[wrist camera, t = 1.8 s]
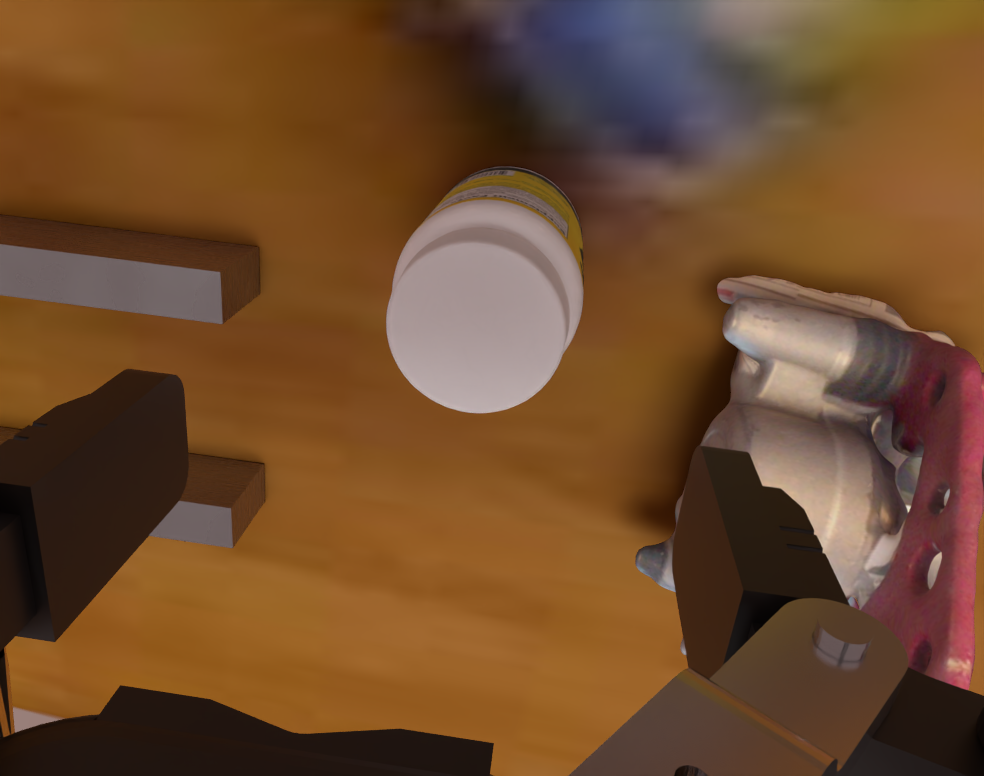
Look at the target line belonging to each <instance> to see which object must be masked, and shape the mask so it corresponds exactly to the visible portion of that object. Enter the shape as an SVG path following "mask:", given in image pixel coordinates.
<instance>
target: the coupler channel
mask: <svg viewBox="0 0 984 776" xmlns="http://www.w3.org/2000/svg"><path fill="white" fill-rule="evenodd" d="M259 294H260V276H259V247H256V246H248V245H240V244H232V243H223V242H215V241H207V240H199V239H191V238H183V237H175V236H167V235H159V234H151V233H143V232H135V231H127V230H119V229H111V228H103V227H95V226H87V225H79V224H71V223H63V222H55V221H47V220H39V219H31V218H23V217H15V216H7V215H0V295H4V296H12V297H20V298H27V299H35V300H43V301H50V302H58V303H65V304H73V305H81V306H88V307H96V308H104V309H111V310H119V311H127V312H134V313H142V314H150V315H157V316H165V317H172V318H180V319H188V320H195V321H203V322H211V323H218V324H223V323H225V322H226V321H227V320H228V319H230V318H231V317H232V316H233V315H235V314H236V313H237V312H238V311H240V310H241V309H242V308H243V307H245V306H246V305H247V304H248V303H249V302H251V301H252V300H253V299H254V298H256V297H257V296H258V295H259ZM20 431H21V430H19V429H12V428H5V427H0V445H1V444H2V443H4V442H5V441H7V440H8V439H13V438H14V435H15V434H17V433H18V432H20ZM188 458H189V471H188V478H187V483H186V486H185V489H184V492H183V494H182V496H181V498H180V500H179V501H178V503H177V504H176V505H175V506H174V508H173V509H172V510H171V511H170V512H169V513H168V514H167V515H166V517H165V518H164V519H163V520H162V521H161V522H160V523H159V525H158V526H157V527H156V528H155V529H154V530H153V531H152V533H151V534H150V535H149V536H154V537H161V538H168V539H174V540H181V541H188V542H195V543H202V544H208V545H215V546H222V547H229V548H233V547H234V546H235V544H236V543H237V541H238V540H239V538H240V537H241V535H242V534H243V533H244V531H245V530H246V528H247V527H248V525H249V524H250V522H251V521H252V519H253V518H254V516H255V515H256V514H257V512H258V511H259V509H260V508H261V506H262V505H263V503H264V502H265V479H264V464H261V463H254V462H247V461H239V460H232V459H225V458H218V457H211V456H204V455H197V454H190V453H188Z"/></svg>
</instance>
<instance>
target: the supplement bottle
mask: <svg viewBox="0 0 984 776" xmlns="http://www.w3.org/2000/svg"><path fill="white" fill-rule="evenodd" d="M583 285H584V276H583V238H582V230H581V225H580V221H579V218H578V215H577V213H576V211H575V209H574V207H573V205H572V203H571V202H570V200H569V199H568V198H567V196H566V195H565V194H564V192H563V191H562V190H561V189H560V188H559V187H558V186H556V185H555V184H554V183H553V182H551V181H550V180H549V179H547V178H545V177H544V176H542V175H540V174H538V173H536V172H533V171H530V170H527V169H523V168H518V167H503V166H501V167H493V168H488V169H484V170H481V171H478V172H476V173H474V174H472V175H470V176H468V177H466V178H465V179H463V180H462V181H460V182H459V183H458V184H457V185H455V186H454V187H453V188H452V189H451V190H450V191H449V192H448V193H447V194H446V196H445V197H444V198H443V199H442V200H441V202H440V203H439V204H438V205H437V206H436V207H435V209H434V210H433V211H432V212H431V213H430V214H429V216H428V217H427V218H426V219H425V220H424V221H423V223H422V224H421V225H420V226H419V227H418V228H417V229H416V230H415V231H414V233H413V234H412V235H411V237H410V238H409V240H408V241H407V243H406V245H405V247H404V249H403V251H402V253H401V255H400V257H399V260H398V263H397V266H396V270H395V274H394V279H393V285H392V294H391V297H390V300H389V303H388V308H387V316H386V329H387V337H388V342H389V346H390V349H391V352H392V355H393V357H394V359H395V361H396V363H397V365H398V367H399V369H400V370H401V372H402V373H403V375H404V376H405V377H406V378H407V380H408V381H409V382H410V383H411V384H412V385H413V386H414V387H415V388H416V389H417V390H419V391H420V392H421V393H422V394H424V395H425V396H427V397H428V398H430V399H431V400H433V401H435V402H437V403H439V404H441V405H443V406H445V407H448V408H451V409H455V410H458V411H463V412H469V413H489V412H497V411H502V410H506V409H509V408H511V407H514V406H516V405H518V404H521V403H523V402H525V401H526V400H528V399H529V398H531V397H532V396H533V395H535V394H536V393H537V392H538V391H540V390H541V389H542V388H543V387H544V386H545V384H546V383H547V382H548V381H549V380H550V378H551V377H552V376H553V374H554V372H555V371H556V369H557V367H558V365H559V363H560V360H561V358H562V354H563V353H564V352H565V350H566V349H567V347H568V346H569V344H570V342H571V341H572V339H573V337H574V334H575V332H576V330H577V327H578V324H579V321H580V318H581V313H582V307H583V295H584V294H583Z"/></svg>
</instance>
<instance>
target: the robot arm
mask: <svg viewBox="0 0 984 776" xmlns="http://www.w3.org/2000/svg"><path fill="white" fill-rule="evenodd" d="M188 471H189V458H188V443H187V427H186V412H185V397H184V388H183V384H182V382H181V380H180V378H179V377H178V376H176V375H172V374H164V373H156V372H149V371H141V370H134V369H126V370H124V371H122V372H121V373H120V374H118V375H117V376H115V377H114V378H113V379H111V380H110V381H108V382H107V383H105V384H104V385H103V386H101V387H100V388H98V389H97V390H96V391H94V392H93V393H91V394H88V395H86V396H83V397H80V398H77V399H75V400H72V401H69V402H67V403H64V404H61V405H58V406H56V407H54V408H53V409H52V410H50V411H49V412H47V413H46V414H44V415H43V416H41V417H40V418H39V419H37V420H36V421H34V422H33V425H32V426H29V425H28V426H27V427H25V428H24V429H23V430H21V431H20V432H18V433H17V434H15V435H14V438H13V439H8V440H7V441H5V442H4V443H2V444H1V445H0V776H493V775H491V774H490V768H491V761H492V753H493V745H494V743H488V742H482V741H475V740H469V739H463V738H456V737H450V736H443V735H437V734H430V733H424V732H417V731H411V730H405V729H387V730H369V731H351V732H332V733H314V734H298V733H292V732H289V731H286V730H284V729H281V728H279V727H277V726H274V725H272V724H269V723H267V722H264V721H262V720H259V719H257V718H255V717H252V716H250V715H247V714H245V713H242V712H240V711H237V710H235V709H233V708H230V707H228V706H225V705H223V704H220V703H218V702H216V701H213V700H211V699H205V698H198V697H192V696H186V695H179V694H173V693H166V692H160V691H153V690H147V689H140V688H134V687H128V686H121V685H120V687H119V688H118V689H117V691H116V692H115V694H114V695H113V696H112V698H111V699H110V701H109V702H108V703H107V705H106V706H105V707H104V709H103V710H102V712H101V713H100V714H99V715H88V716H81V717H74V718H67V719H62V720H58V721H54V722H49V723H45V724H41V725H38V726H35V727H32V728H29V729H25V730H22V731H19V732H16V733H15V729H14V719H13V707H12V695H11V684H10V673H9V664H8V659H7V653H6V648H5V646H6V645H7V644H8V643H9V642H10V641H11V640H12V639H13V638H14V637H15V636H19V637H26V638H32V639H39V640H45V641H52V642H56V640H57V639H58V638H59V637H60V636H61V635H62V634H63V632H64V631H65V630H66V629H67V628H68V627H69V626H70V624H71V623H72V622H73V621H74V620H75V619H76V618H77V617H78V615H79V614H80V613H81V612H82V611H83V610H84V609H85V607H86V606H87V605H88V604H89V603H90V602H91V601H92V599H93V598H94V597H95V596H96V595H97V594H98V593H99V592H100V590H101V589H102V588H103V587H104V586H105V585H106V584H107V582H108V581H109V580H110V579H111V578H112V577H113V576H114V575H115V573H116V572H117V571H118V570H119V569H120V568H121V567H122V565H123V564H124V563H125V562H126V561H127V560H128V559H129V557H130V556H131V555H132V554H133V553H134V552H135V551H136V550H137V548H138V547H139V546H140V545H141V544H142V543H143V542H144V540H145V539H146V538H147V537H148V536H149V535H150V534H151V533H152V531H153V530H154V529H155V528H156V527H157V526H158V525H159V523H160V522H161V521H162V520H163V519H164V518H165V517H166V515H167V514H168V513H169V512H170V511H171V510H172V509H173V508H174V506H175V505H176V504H177V503H178V501H179V500H180V498H181V496H182V494H183V492H184V489H185V486H186V483H187V478H188ZM672 573H673V579H674V585H675V591H676V597H677V603H678V609H679V615H680V620H681V626H682V632H683V638H684V644H685V650H686V656H687V661H688V667H689V668H688V669H685V670H683V671H682V672H680V673H679V674H678V675H677V676H675V677H674V678H673V679H672V680H671V681H670V682H669V683H668V684H667V685H666V686H665V687H664V688H663V689H661V690H660V691H659V692H658V693H657V694H656V695H655V696H654V697H653V698H652V699H651V700H650V701H649V702H647V703H646V704H645V705H644V706H643V707H642V708H641V709H640V710H639V711H638V712H637V713H636V714H634V715H633V716H632V717H631V718H630V719H629V720H628V721H627V722H626V723H625V724H624V725H623V726H622V727H620V728H619V729H618V730H617V731H616V732H615V733H614V734H613V735H612V736H611V737H610V738H609V739H608V740H606V741H605V742H604V743H603V744H602V745H601V746H600V747H599V748H598V749H597V750H596V751H595V752H594V753H592V754H591V755H590V756H589V757H588V758H587V759H586V760H585V761H584V762H583V763H582V764H581V765H580V766H578V767H577V768H576V769H575V770H574V771H573V772H572V773H571V774H570V775H569V776H984V696H983V695H980V694H977V693H974V692H971V691H968V690H966V689H963V688H960V687H957V686H954V685H951V684H949V683H946V682H943V681H940V680H937V679H934V678H932V677H929V676H927V675H924V674H922V673H920V672H918V671H916V670H913V669H911V668H909V667H908V661H909V660H908V656H907V652H906V650H905V648H904V646H903V644H902V643H901V642H900V640H899V639H898V638H897V637H896V635H895V634H894V633H893V632H892V631H891V630H890V629H888V628H887V627H886V626H885V625H884V624H882V623H881V622H879V621H878V620H877V619H875V618H874V617H872V616H870V615H868V614H866V613H865V612H863V611H861V610H858V609H856V608H854V607H852V606H850V604H849V602H848V600H847V598H846V596H845V594H844V592H843V590H842V588H841V585H840V583H839V581H838V579H837V577H836V575H835V573H834V571H833V569H832V567H831V564H830V562H829V560H828V558H827V556H826V554H825V553H823V548H822V546H821V543H820V541H819V539H818V537H817V535H814V529H813V527H812V525H811V522H810V520H809V518H808V516H807V514H806V512H805V510H804V508H802V507H801V506H800V505H799V504H798V503H797V502H796V501H795V500H793V499H792V498H791V497H790V496H789V495H788V494H787V493H786V492H784V491H783V490H782V489H781V488H775V487H767V486H763V485H762V483H761V481H760V478H759V476H758V473H757V471H756V468H755V466H754V463H753V461H752V459H751V456H750V454H749V453H748V452H746V451H738V450H731V449H723V448H716V447H708V446H701V445H698V446H697V447H696V449H695V450H694V453H693V456H692V460H691V464H690V468H689V473H688V477H687V482H686V486H685V490H684V495H683V499H682V504H681V508H680V513H679V517H678V522H677V526H676V531H675V536H674V542H673V552H672Z"/></svg>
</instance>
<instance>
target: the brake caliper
mask: <svg viewBox="0 0 984 776" xmlns="http://www.w3.org/2000/svg"><path fill="white" fill-rule="evenodd" d="M717 293H718V296H719V299H720V300H721V301H723V302H724V303H728V304H731V306H730V308H729V309H728V311H727V312H726V314H725V316H724V318H723V334H724V337H725V339H726V340H728V341H729V342H730V343H732V344H733V345H734V346H736V347H737V348H738V349H739V350H738V353H737V356H736V360H735V363H734V366H733V371H732V375H731V383H730V386H731V399H730V402H729V403H728V405H727V406H726V407H725V408H724V409H723V410H722V411H721V412H720V413H719V414H718V415H717V416H716V417H715V419H714V420H713V421H712V423H711V424H710V426H709V428H708V429H707V431H706V433H705V435H704V437H703V440H702V442H701V444H700V445H701V446H708V447H716V448H723V449H731V450H738V451H746V452H748V453H749V454H750V456H751V459H752V461H753V463H754V466H755V468H756V471H757V473H758V476H759V478H760V481H761V483H762V485H763V486H767V487H775V488H781V489H782V490H783V491H784V492H786V493H787V494H788V495H789V496H790V497H791V498H792V499H793V500H795V501H796V502H797V503H798V504H799V505H800V506H801V507H802V508H804V510H805V512H806V514H807V516H808V518H809V520H810V522H811V525H812V527H813V529H814V535H817V537H818V539H819V541H820V543H821V546H822V548H823V553H825V554H826V556H827V558H828V560H829V562H830V564H831V567H832V569H833V571H834V573H835V575H836V577H837V579H838V581H839V583H840V585H841V588H842V590H843V592H844V594H845V596H846V598H847V600H848V602H849V604H850V606H852V607H854V608H856V609H858V610H861V611H863V612H865V613H866V614H868V615H870V616H872V617H874V618H875V619H877V620H878V621H879V622H881V623H882V624H884V625H885V626H886V627H887V628H888V629H890V630H891V631H892V632H893V633H894V634H895V635H896V637H897V638H898V639H899V640H900V642H901V643H902V644H903V646H904V648H905V650H906V652H907V656H908V660H909V661H908V667H909V668H911V669H913V670H916V671H918V672H920V673H922V674H924V675H927V676H929V677H932V678H934V679H937V680H940V681H943V682H946V683H949V684H951V685H954V686H957V687H960V688H963V689H966V690H968V688H969V685H970V681H971V676H972V673H973V666H974V660H975V633H974V599H975V591H976V557H977V550H978V528H979V523H980V520H981V517H982V514H983V511H984V373H982V372H981V369H980V365H979V363H978V362H977V360H976V359H975V357H974V356H973V355H972V354H970V353H969V352H968V351H966V350H964V349H962V348H960V347H957V346H955V345H954V343H953V342H952V340H951V339H950V338H949V337H948V336H947V335H946V334H945V333H944V332H942V331H929V332H925V331H919V330H916V329H913V328H911V327H909V326H908V325H907V324H906V323H905V322H904V321H903V319H902V318H901V316H900V315H899V314H898V313H897V312H896V310H895V309H894V308H892V307H891V306H889V305H888V304H886V303H883V302H880V301H877V300H873V299H870V298H867V297H864V296H860V295H849V294H843V293H838V292H835V293H826V292H823V291H820V290H816V289H812V288H805V287H802V286H800V285H798V284H796V283H794V282H790V281H786V280H782V279H777V278H767V277H761V276H757V275H751V276H745V277H741V278H726V279H723V280H722V281H721V282H719V284H718V286H717ZM686 482H687V481H686ZM685 486H686V485H685ZM684 490H685V488H684ZM683 495H684V491H683ZM683 495H682V496H681V497H680V498H679V499H678V501H677V504H676V509H675V518H676V526H677V522H678V517H679V513H680V508H681V504H682V499H683ZM675 531H676V528H675ZM675 531H674V533H673V534H672V536H671V537H670V538H669V539H668V540H666V541H664V542H662V543H659V544H656V545H651V546H645V547H643V548H641V549H639V551H638V552H637V555H636V566H637V568H638V570H639V571H641V572H642V573H644V574H646V575H648V576H649V577H651V578H652V579H653V580H654V581H655V582H657V583H658V584H659V585H660V586H662V587H664V588H666V589H669V590H671V591H674V592H676V591H675V585H674V579H673V573H672V552H673V542H674V536H675ZM855 598H856V599H857V601H858V604H859V606H858V604H857V602H856V600H855ZM859 607H860V608H859ZM681 651H682V653H683V654H685V655H686V650H685V644H684V638H683V640H682V642H681Z"/></svg>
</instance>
